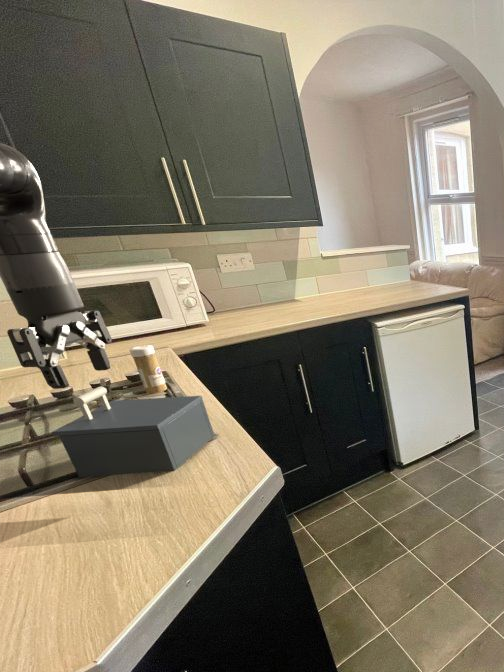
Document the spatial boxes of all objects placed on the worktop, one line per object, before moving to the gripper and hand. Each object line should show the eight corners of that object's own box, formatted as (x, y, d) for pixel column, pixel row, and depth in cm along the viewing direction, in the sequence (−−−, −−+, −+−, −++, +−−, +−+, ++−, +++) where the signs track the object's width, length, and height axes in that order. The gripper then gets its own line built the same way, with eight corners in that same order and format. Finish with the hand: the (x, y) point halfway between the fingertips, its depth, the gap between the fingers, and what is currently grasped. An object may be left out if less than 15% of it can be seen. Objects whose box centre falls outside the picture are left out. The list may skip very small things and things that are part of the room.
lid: (53, 436, 69) (39, 407, 67) (113, 404, 81) (102, 379, 79) (158, 429, 70) (147, 401, 68) (202, 399, 82) (194, 374, 80)
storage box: (83, 485, 73) (58, 436, 69) (136, 448, 84) (117, 404, 81) (177, 478, 74) (158, 429, 70) (217, 443, 86) (202, 399, 82)
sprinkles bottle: (167, 397, 109) (149, 348, 104) (145, 401, 107) (126, 351, 102) (172, 391, 113) (154, 343, 108) (151, 394, 111) (132, 346, 106)
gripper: (55, 277, 72) (94, 366, 78) (-37, 291, 59) (18, 396, 65) (102, 275, 73) (136, 363, 79) (21, 289, 60) (70, 393, 66)
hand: (83, 378), depth 72 cm, fingers open, 8 cm apart
